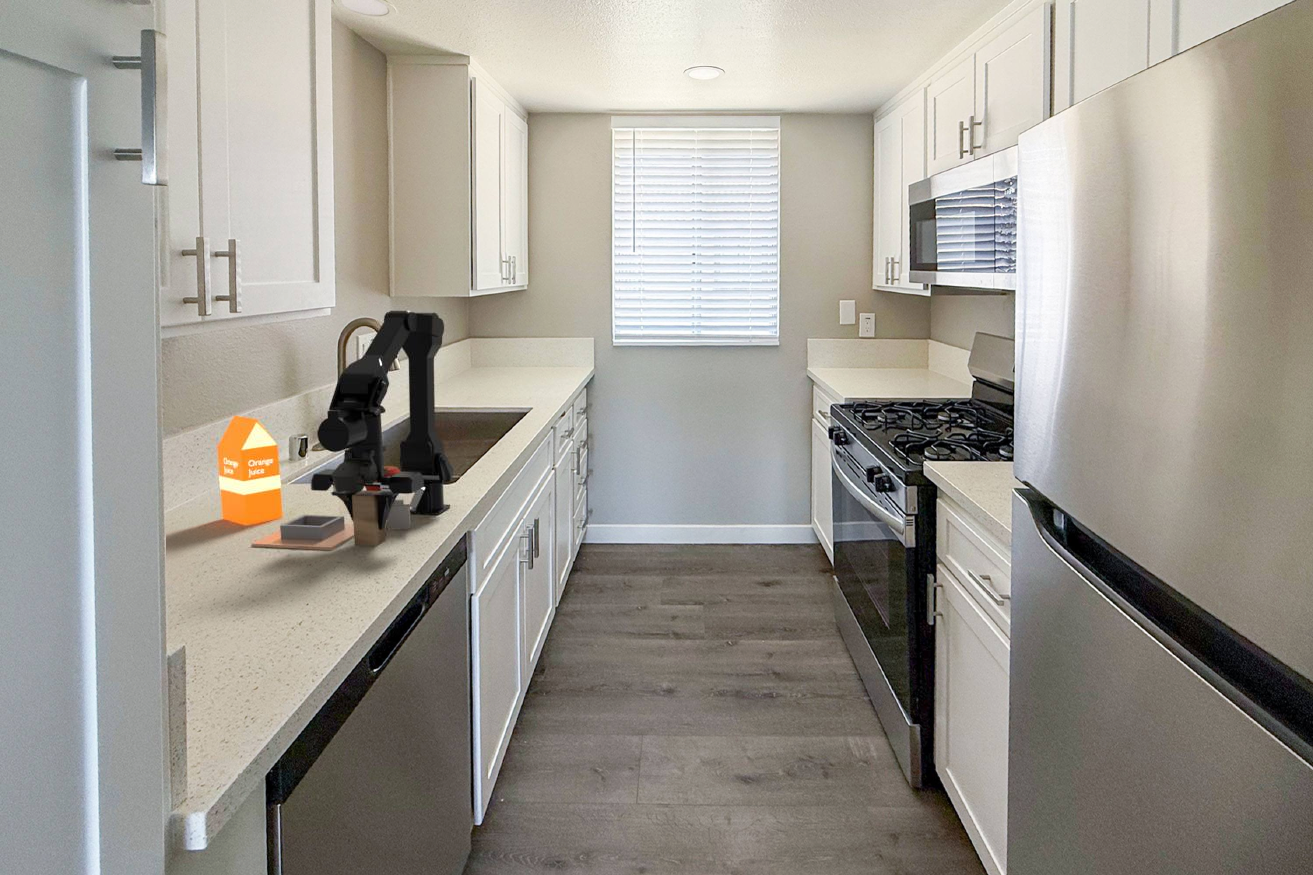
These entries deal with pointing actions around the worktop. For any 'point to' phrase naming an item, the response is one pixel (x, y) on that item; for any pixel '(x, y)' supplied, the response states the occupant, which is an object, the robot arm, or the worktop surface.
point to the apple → (390, 472)
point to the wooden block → (367, 519)
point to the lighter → (402, 512)
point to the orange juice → (249, 473)
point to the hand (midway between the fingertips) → (369, 528)
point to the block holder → (310, 533)
